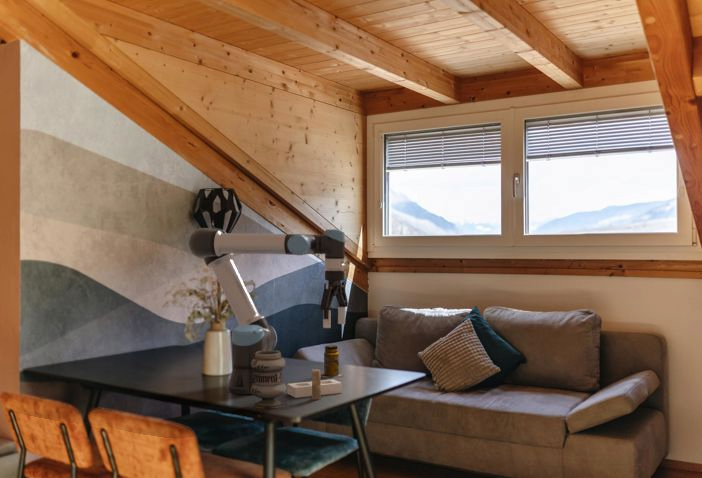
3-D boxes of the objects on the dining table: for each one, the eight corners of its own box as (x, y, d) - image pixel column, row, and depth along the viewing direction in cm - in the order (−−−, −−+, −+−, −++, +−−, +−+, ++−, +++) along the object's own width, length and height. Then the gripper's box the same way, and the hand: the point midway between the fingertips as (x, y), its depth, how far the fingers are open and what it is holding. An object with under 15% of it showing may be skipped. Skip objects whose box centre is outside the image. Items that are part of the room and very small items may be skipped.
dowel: (314, 400, 246) (313, 371, 246) (310, 398, 249) (310, 369, 249) (322, 399, 248) (321, 370, 248) (318, 397, 250) (318, 369, 250)
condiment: (343, 375, 291) (342, 346, 291) (325, 378, 286) (325, 348, 286) (333, 373, 297) (333, 344, 297) (316, 375, 292) (315, 346, 292)
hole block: (295, 397, 250) (295, 387, 250) (287, 393, 258) (287, 383, 258) (342, 392, 258) (342, 383, 258) (333, 388, 265) (333, 379, 265)
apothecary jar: (250, 410, 232) (250, 355, 232) (250, 402, 244) (249, 349, 244) (287, 408, 234) (287, 353, 234) (285, 400, 246) (284, 348, 246)
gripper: (329, 271, 259) (329, 330, 259) (356, 268, 282) (356, 322, 282) (311, 271, 262) (311, 328, 262) (338, 268, 285) (338, 321, 285)
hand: (334, 325), depth 272 cm, fingers open, 13 cm apart
